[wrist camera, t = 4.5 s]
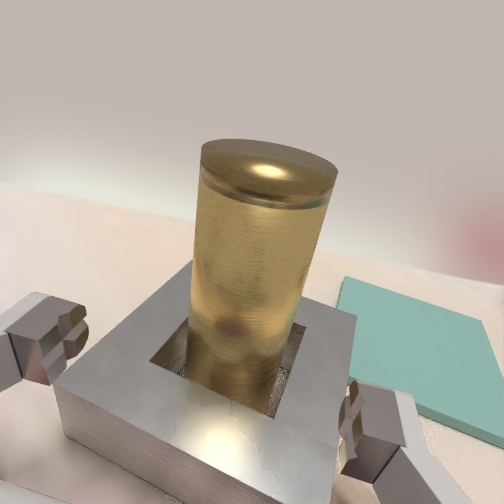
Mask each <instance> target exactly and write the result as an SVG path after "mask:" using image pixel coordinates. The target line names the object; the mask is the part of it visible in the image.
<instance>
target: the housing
mask: <svg viewBox="0 0 504 504" xmlns="http://www.w3.org/2000/svg"><path fill="white" fill-rule="evenodd" d="M192 266H193V260H191V261H190V262H189V263H188V264H187V265H186V266H185V267H183V268H182V269H181V270H180V271H179V272H178V273H177V274H175V275H174V276H173V277H172V278H171V279H170V280H169V281H167V282H166V283H165V284H164V285H163V286H162V287H161V288H159V289H158V290H157V291H156V292H155V293H154V294H153V295H151V296H150V297H149V298H148V299H147V300H146V301H145V302H143V303H142V304H141V305H140V306H139V307H138V308H137V309H135V310H134V311H133V312H132V313H131V314H130V315H129V316H127V317H126V318H125V319H124V320H123V321H122V322H121V323H119V324H118V325H117V326H116V327H115V328H114V329H113V330H111V331H110V332H109V333H108V334H107V335H106V336H105V337H103V338H102V339H101V340H100V341H99V342H98V343H97V344H95V345H94V346H93V347H92V348H91V349H90V350H89V351H87V352H86V353H85V354H84V355H83V356H82V357H81V358H79V359H78V360H77V361H76V362H75V363H74V364H73V365H71V366H70V367H69V368H68V369H67V370H66V371H65V372H63V373H62V374H61V375H60V376H59V377H58V378H57V379H56V380H55V381H54V382H53V387H54V391H55V396H56V400H57V404H58V408H59V412H60V416H61V420H62V424H63V428H64V433H65V435H66V436H68V437H70V438H71V439H73V440H75V441H77V442H78V443H80V444H82V445H84V446H85V447H87V448H89V449H91V450H92V451H94V452H96V453H98V454H100V455H101V456H103V457H105V458H107V459H108V460H110V461H112V462H114V463H115V464H117V465H119V466H121V467H122V468H124V469H126V470H128V471H129V472H131V473H133V474H135V475H136V476H138V477H140V478H142V479H144V480H145V481H147V482H149V483H151V484H152V485H154V486H156V487H158V488H159V489H161V490H163V491H165V492H166V493H168V494H170V495H172V496H173V497H175V498H177V499H179V500H180V501H182V502H184V503H186V504H330V498H331V491H332V484H333V478H334V471H335V464H336V457H337V451H338V444H339V437H340V433H339V432H338V419H339V412H340V407H341V404H342V402H343V399H344V397H345V396H346V389H347V383H348V376H349V369H350V362H351V355H352V349H353V342H354V335H355V328H356V321H357V316H356V315H353V314H350V313H347V312H345V311H342V310H339V309H336V308H333V307H331V306H328V305H325V304H322V303H319V302H317V301H314V300H311V299H308V298H305V297H303V296H301V298H300V301H299V305H298V308H297V311H296V315H295V318H294V321H293V325H292V328H291V332H290V335H289V338H288V342H287V345H286V348H285V352H284V355H283V358H282V362H281V365H280V367H282V368H284V369H287V370H289V371H291V372H290V375H289V378H288V381H287V383H286V386H285V389H284V392H283V395H282V398H281V400H280V403H279V406H278V409H277V412H276V415H275V418H274V419H272V418H270V417H268V416H266V415H263V414H261V413H259V412H257V411H255V410H253V409H250V408H248V407H246V406H244V405H242V404H240V403H238V402H235V401H233V400H231V399H229V398H227V397H225V396H222V395H220V394H218V393H216V392H214V391H212V390H209V389H207V388H205V387H203V386H201V385H199V384H196V383H194V382H192V381H190V380H188V379H186V378H183V377H181V376H179V375H177V373H178V372H179V370H180V369H181V368H182V366H183V365H184V364H185V359H186V346H187V333H188V319H189V306H190V293H191V280H192Z"/></svg>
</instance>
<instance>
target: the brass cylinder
mask: <svg viewBox="0 0 504 504" xmlns="http://www.w3.org/2000/svg"><path fill="white" fill-rule="evenodd" d="M337 173H338V170H337V168H336V167H335V166H334V165H333V164H332V163H330V162H329V161H327V160H325V159H323V158H321V157H319V156H317V155H314V154H312V153H309V152H306V151H303V150H300V149H296V148H293V147H289V146H284V145H280V144H275V143H269V142H263V141H256V140H246V139H220V140H213V141H209V142H207V143H205V144H203V146H202V148H201V160H200V174H199V187H198V200H197V214H196V227H195V240H194V253H193V266H192V280H191V293H190V306H189V319H188V333H187V346H186V359H185V372H184V378H186V379H188V380H190V381H192V382H194V383H196V384H199V385H201V386H203V387H205V388H207V389H209V390H212V391H214V392H216V393H218V394H220V395H222V396H225V397H227V398H229V399H231V400H233V401H235V402H238V403H240V404H242V405H244V406H246V407H248V408H250V409H253V410H255V411H257V412H259V413H261V414H263V415H264V414H265V413H266V411H267V409H268V405H269V402H270V399H271V395H272V392H273V389H274V385H275V382H276V379H277V375H278V372H279V369H280V365H281V362H282V358H283V355H284V352H285V348H286V345H287V342H288V338H289V335H290V332H291V328H292V325H293V321H294V318H295V315H296V311H297V308H298V305H299V301H300V298H301V295H302V291H303V288H304V285H305V281H306V278H307V274H308V271H309V268H310V264H311V261H312V258H313V254H314V251H315V248H316V244H317V241H318V237H319V234H320V231H321V227H322V224H323V221H324V217H325V214H326V210H327V207H328V204H329V201H330V197H331V194H332V190H333V187H334V184H335V180H336V177H337Z"/></svg>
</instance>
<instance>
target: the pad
mask: <svg viewBox="0 0 504 504" xmlns="http://www.w3.org/2000/svg"><path fill="white" fill-rule="evenodd" d="M336 309H339V310H342V311H345V312H347V313H350V314H353V315H356V316H357V321H356V328H355V335H354V342H353V349H352V355H351V362H350V369H349V376H348V383H347V385H351V383H352V381H353V380H355V379H357V380H360V381H364V382H368V383H372V384H376V385H380V386H383V387H387V388H390V389H394V390H398V391H402V392H405V393H409V394H411V395H412V396H413V398H414V402H415V405H416V409H417V412H418V414H420V415H423V416H425V417H427V418H430V419H432V420H435V421H437V422H440V423H442V424H444V425H447V426H449V427H452V428H454V429H457V430H459V431H461V432H464V433H466V434H469V435H471V436H474V437H476V438H478V439H481V440H483V441H486V442H488V443H491V444H493V445H495V446H498V447H500V448H503V449H504V379H503V376H502V374H501V371H500V368H499V366H498V363H497V361H496V358H495V355H494V353H493V350H492V348H491V345H490V342H489V340H488V337H487V335H486V332H485V329H484V327H483V324H482V321H481V320H478V319H475V318H472V317H469V316H466V315H463V314H460V313H457V312H454V311H451V310H448V309H445V308H442V307H438V306H435V305H432V304H429V303H426V302H423V301H420V300H417V299H414V298H411V297H408V296H405V295H402V294H399V293H396V292H393V291H390V290H387V289H384V288H381V287H378V286H375V285H372V284H369V283H366V282H363V281H360V280H357V279H354V278H351V277H348V276H345V278H344V281H343V284H342V288H341V292H340V296H339V300H338V304H337V308H336Z"/></svg>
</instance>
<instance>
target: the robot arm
mask: <svg viewBox="0 0 504 504" xmlns="http://www.w3.org/2000/svg"><path fill="white" fill-rule="evenodd" d="M86 315H87V314H86V309H85V306H83V305H80V304H77V303H74V302H70V301H67V300H64V299H61V298H57V297H54V296H50V295H46V294H43V293H40V292H34V293H30V294H29V295H28V296H26V297H25V298H23V299H22V300H21V301H19V302H18V303H17V304H15V305H14V306H13V307H11V308H10V309H9V310H7V311H6V312H4V313H3V314H2V315H0V392H2V391H3V390H5V389H7V388H9V387H11V386H13V385H14V384H16V383H18V382H20V381H22V379H25V380H29V381H33V382H37V383H40V384H44V385H48V386H50V385H51V384H52V383H53V382H54V381H55V380H56V379H57V378H58V376H59V375H60V374H61V373H62V372H63V371H64V370H65V369H66V365H67V360H69V359H71V358H73V357H75V356H77V355H78V354H79V353H80V351H81V350H82V349H83V348H84V346H85V343H86V341H87V339H88V334H89V329H88V325H87V324H86V322H85V321H84V320H83V318H84V317H85V316H86ZM349 391H350V395H349V396H346V397H344V399H343V402H342V404H341V407H340V412H339V419H338V432H339V433H340V435H341V437H342V438H343V441H342V443H341V445H340V447H339V459H340V474H343V475H346V476H349V477H352V478H355V479H358V480H361V481H364V482H367V483H370V484H373V485H372V487H373V489H374V491H375V493H376V495H377V497H378V499H379V501H380V503H381V504H473V503H472V501H471V500H470V499H469V498H468V496H467V495H466V494H465V493H464V491H463V490H462V489H461V488H460V487H459V485H458V484H457V483H456V482H455V480H454V479H453V478H452V477H451V475H450V474H449V473H448V472H447V470H446V469H445V468H444V467H443V465H442V464H441V463H440V462H439V460H438V459H437V458H436V457H435V456H433V455H429V452H428V448H427V445H426V441H425V437H424V434H423V430H422V427H421V423H420V420H419V416H418V412H417V409H416V405H415V402H414V398H413V396H412V395H411V394H409V393H405V392H402V391H398V390H394V389H390V388H387V387H383V386H380V385H376V384H372V383H368V382H364V381H360V380H357V379H355V380H353V381H352V383H351V385H350V387H349ZM0 504H70V503H67V502H64V501H61V500H58V499H55V498H52V497H49V496H47V495H44V494H41V493H38V492H35V491H32V490H29V489H26V488H23V487H20V486H17V485H14V484H11V483H8V482H5V481H2V480H0Z"/></svg>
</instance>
